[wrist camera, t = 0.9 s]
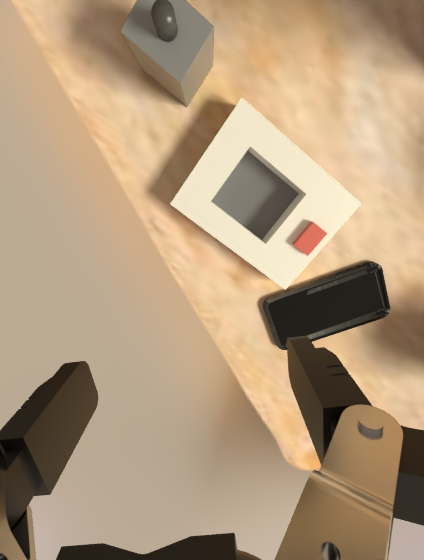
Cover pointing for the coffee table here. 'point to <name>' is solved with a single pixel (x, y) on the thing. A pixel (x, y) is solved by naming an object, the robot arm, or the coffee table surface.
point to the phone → (329, 304)
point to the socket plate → (264, 197)
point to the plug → (171, 44)
